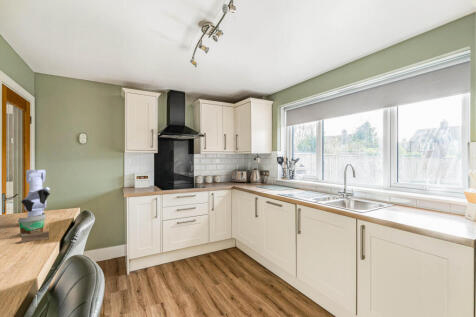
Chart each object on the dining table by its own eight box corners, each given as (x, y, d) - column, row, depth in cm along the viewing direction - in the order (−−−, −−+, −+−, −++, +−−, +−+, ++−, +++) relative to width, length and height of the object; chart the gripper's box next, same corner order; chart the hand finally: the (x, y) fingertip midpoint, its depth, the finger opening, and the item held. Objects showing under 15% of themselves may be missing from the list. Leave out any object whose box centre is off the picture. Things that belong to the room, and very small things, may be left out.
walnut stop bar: (21, 241, 108) (21, 235, 108) (48, 236, 115) (48, 230, 115) (21, 243, 106) (21, 236, 106) (48, 238, 113) (48, 232, 113)
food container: (26, 238, 112) (27, 218, 112) (17, 237, 113) (17, 218, 113) (51, 231, 124) (52, 213, 124) (43, 230, 125) (43, 212, 125)
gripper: (16, 192, 125) (15, 211, 117) (41, 178, 127) (41, 196, 119) (29, 197, 130) (28, 216, 123) (52, 184, 132) (53, 201, 125)
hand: (35, 206), depth 121 cm, fingers open, 7 cm apart
